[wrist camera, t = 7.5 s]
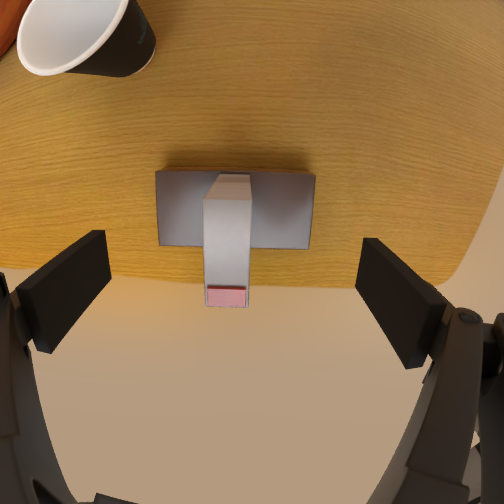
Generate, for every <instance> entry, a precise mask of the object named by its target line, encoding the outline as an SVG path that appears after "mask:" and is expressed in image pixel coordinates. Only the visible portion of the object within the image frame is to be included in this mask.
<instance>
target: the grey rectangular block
mask: <svg viewBox="0 0 504 504" xmlns="http://www.w3.org/2000/svg"><path fill="white" fill-rule="evenodd" d="M251 222H252V193H251V183H250V175H241V174H220V175H219V176H218V178H217V179H216V180H215V182H214V183H213V185H212V186H211V188H210V189H209V191H208V192H207V194H206V195H205V197H204V198H203V258H204V287H205V305H206V306H211V307H243V308H245V307H246V308H247V307H248V305H249V278H250V250H251Z"/></svg>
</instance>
